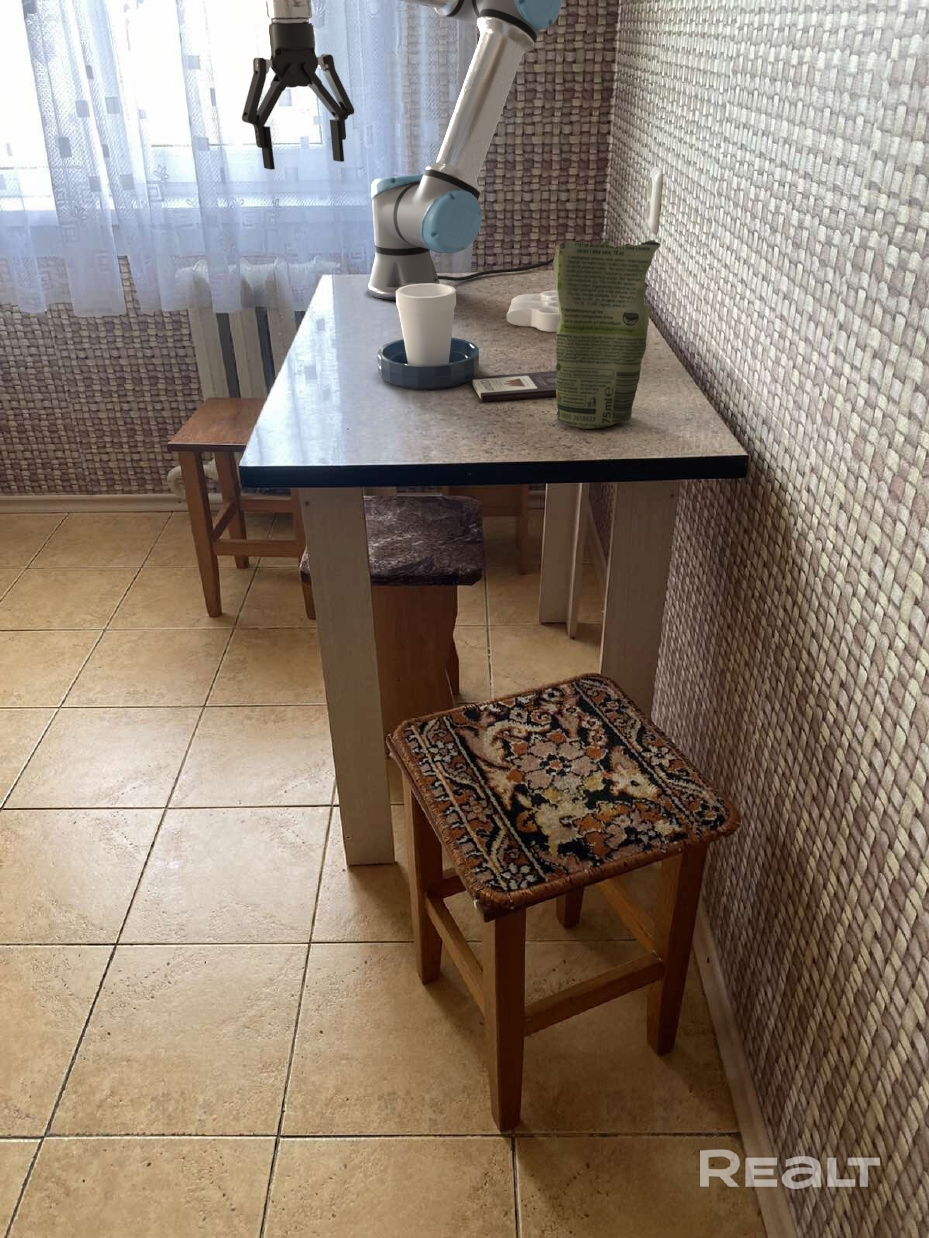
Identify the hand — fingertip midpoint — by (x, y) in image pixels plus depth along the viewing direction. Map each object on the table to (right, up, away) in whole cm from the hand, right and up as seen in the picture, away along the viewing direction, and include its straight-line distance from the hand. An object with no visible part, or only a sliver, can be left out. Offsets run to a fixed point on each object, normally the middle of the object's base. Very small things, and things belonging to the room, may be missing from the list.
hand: (304, 165), depth 165 cm
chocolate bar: (+39, -43, -16) cm, 60 cm away
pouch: (+47, -51, -27) cm, 74 cm away
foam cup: (+22, -39, -9) cm, 46 cm away
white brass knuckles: (+44, -21, +19) cm, 52 cm away
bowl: (+22, -39, -9) cm, 46 cm away
